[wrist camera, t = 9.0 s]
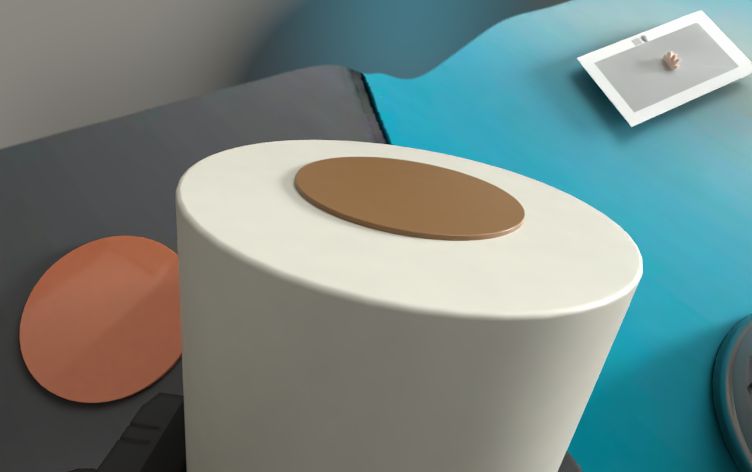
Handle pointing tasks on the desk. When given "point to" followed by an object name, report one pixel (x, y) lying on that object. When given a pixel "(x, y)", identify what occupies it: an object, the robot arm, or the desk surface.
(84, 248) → the coaster
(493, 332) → the paper roll
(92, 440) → the desk surface
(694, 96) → the touchpad
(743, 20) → the desk surface
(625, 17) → the desk surface
